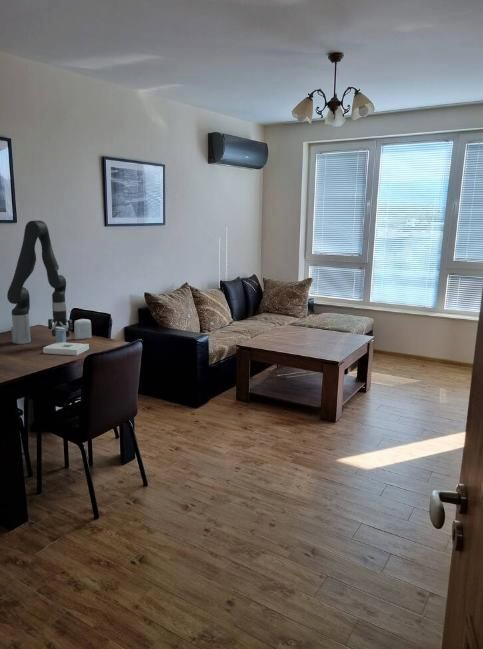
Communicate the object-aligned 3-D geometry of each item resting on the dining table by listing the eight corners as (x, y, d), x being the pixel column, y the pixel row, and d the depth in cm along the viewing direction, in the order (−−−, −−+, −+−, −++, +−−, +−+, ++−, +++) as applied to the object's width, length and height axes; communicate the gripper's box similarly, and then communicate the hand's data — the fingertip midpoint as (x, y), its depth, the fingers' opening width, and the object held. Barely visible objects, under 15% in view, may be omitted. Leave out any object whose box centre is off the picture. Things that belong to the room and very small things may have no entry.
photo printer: (90, 336, 306) (89, 317, 303) (92, 338, 302) (91, 319, 300) (73, 338, 300) (72, 319, 297) (75, 340, 296) (74, 320, 294)
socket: (43, 353, 265) (43, 347, 264) (56, 347, 278) (56, 342, 278) (76, 355, 262) (76, 349, 261) (89, 349, 275) (88, 344, 275)
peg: (56, 345, 282) (55, 330, 280) (60, 344, 285) (59, 329, 284) (62, 346, 281) (61, 331, 279) (66, 344, 285) (65, 329, 283)
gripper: (44, 310, 276) (46, 337, 280) (67, 311, 274) (68, 338, 277) (51, 308, 284) (53, 334, 287) (73, 309, 281) (75, 335, 285)
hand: (61, 336), depth 282 cm, fingers open, 8 cm apart
